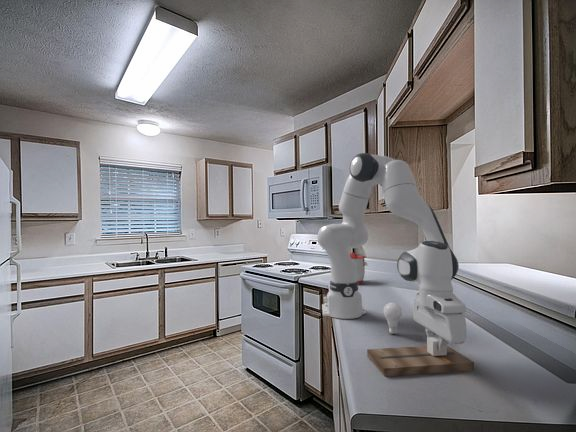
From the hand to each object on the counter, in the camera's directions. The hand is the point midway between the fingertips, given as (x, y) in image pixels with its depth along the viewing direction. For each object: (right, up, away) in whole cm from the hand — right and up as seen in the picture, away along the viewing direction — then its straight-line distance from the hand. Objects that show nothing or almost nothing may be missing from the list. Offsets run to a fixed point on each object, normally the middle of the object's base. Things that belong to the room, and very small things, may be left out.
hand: (436, 347), depth 87 cm
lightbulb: (-5, -5, +22) cm, 23 cm away
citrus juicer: (+1, -6, +112) cm, 112 cm away
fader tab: (0, -2, 0) cm, 2 cm away
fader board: (-6, -4, -1) cm, 7 cm away
